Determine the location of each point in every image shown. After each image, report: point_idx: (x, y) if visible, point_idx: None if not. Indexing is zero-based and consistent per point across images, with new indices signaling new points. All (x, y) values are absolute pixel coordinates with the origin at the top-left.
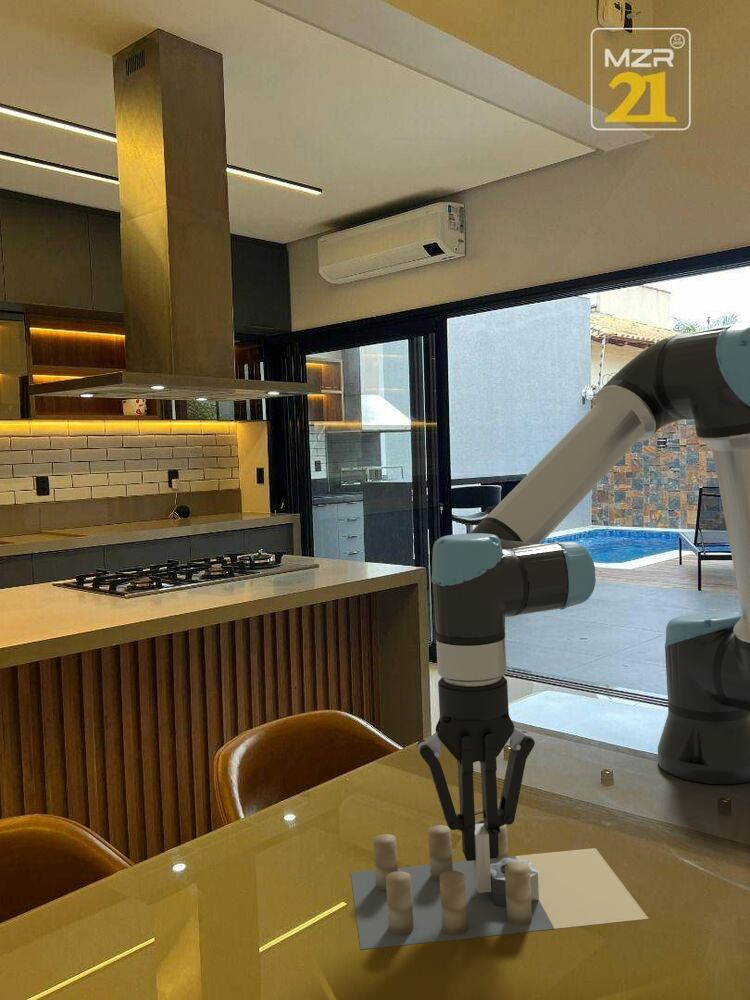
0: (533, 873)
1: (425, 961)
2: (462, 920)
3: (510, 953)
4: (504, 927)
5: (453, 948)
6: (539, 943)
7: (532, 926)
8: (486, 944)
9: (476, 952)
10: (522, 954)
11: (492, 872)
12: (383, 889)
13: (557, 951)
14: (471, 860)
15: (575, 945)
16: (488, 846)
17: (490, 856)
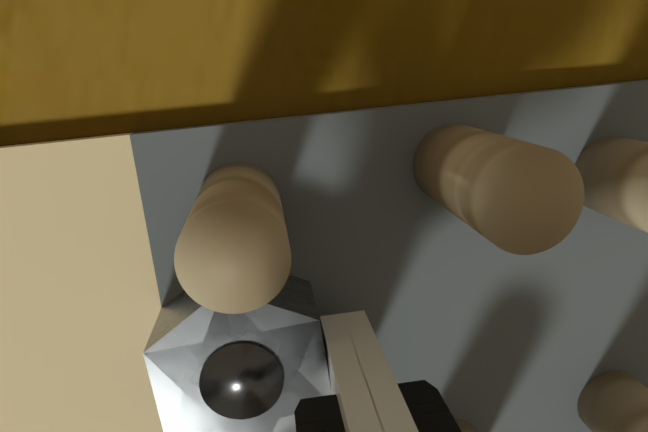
0: (160, 350)
1: (551, 21)
2: (444, 135)
3: (291, 38)
4: (295, 155)
5: (460, 83)
6: (190, 86)
7: (202, 154)
8: (359, 96)
9: (395, 54)
10: (253, 29)
11: (317, 363)
12: (628, 374)
13: (136, 34)
14: (406, 383)
15: (70, 63)
16: (347, 410)
17: (329, 401)
